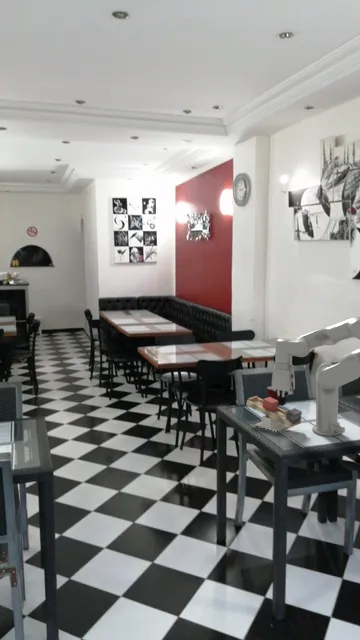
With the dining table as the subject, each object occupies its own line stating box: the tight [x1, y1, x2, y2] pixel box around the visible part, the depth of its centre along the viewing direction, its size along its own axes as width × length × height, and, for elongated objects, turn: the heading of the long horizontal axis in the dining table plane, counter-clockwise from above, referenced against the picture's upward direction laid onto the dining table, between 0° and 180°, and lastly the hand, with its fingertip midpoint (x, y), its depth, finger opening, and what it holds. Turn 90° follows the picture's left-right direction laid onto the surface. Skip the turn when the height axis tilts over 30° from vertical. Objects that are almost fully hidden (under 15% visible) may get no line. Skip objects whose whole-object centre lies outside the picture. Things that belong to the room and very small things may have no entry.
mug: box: [266, 385, 280, 407], centre depth 273 cm, size 10×8×10 cm
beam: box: [245, 395, 303, 429], centre depth 241 cm, size 26×9×7 cm, turn 44°
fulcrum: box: [254, 414, 289, 433], centre depth 242 cm, size 12×11×5 cm
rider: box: [262, 397, 278, 412], centre depth 242 cm, size 5×5×5 cm
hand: (282, 404), depth 237 cm, fingers closed
